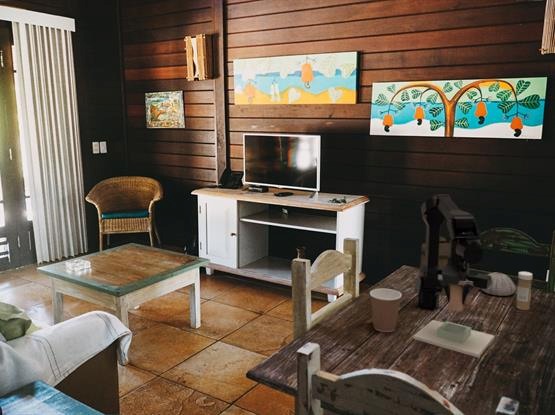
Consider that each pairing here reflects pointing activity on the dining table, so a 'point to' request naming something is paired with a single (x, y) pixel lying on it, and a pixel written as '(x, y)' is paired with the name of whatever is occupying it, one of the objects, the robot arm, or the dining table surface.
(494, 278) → the sea urchin shell
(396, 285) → the dining table surface
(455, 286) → the terracotta peg
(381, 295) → the coffee cup
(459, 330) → the socket board
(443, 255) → the wooden container
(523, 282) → the sprinkles bottle
